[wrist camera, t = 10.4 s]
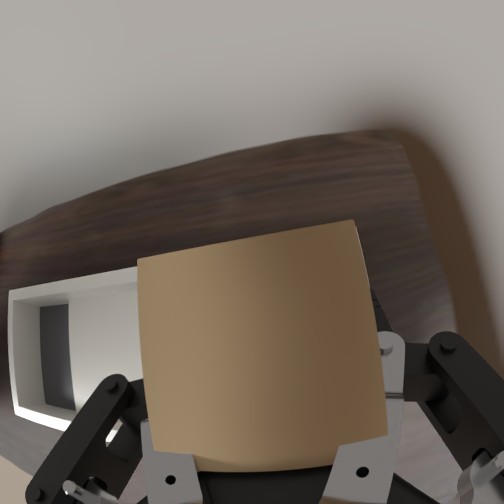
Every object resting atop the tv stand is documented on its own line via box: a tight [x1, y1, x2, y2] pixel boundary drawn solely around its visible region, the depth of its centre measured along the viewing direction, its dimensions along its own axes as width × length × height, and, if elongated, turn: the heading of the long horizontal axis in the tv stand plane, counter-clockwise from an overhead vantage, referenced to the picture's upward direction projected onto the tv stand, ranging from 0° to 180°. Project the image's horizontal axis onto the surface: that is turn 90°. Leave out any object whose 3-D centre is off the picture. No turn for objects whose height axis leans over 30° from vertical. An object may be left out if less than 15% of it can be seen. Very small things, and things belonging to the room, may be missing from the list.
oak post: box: [137, 219, 388, 472], centre depth 11 cm, size 5×5×11 cm
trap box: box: [8, 229, 370, 442], centre depth 18 cm, size 30×12×4 cm, turn 97°
